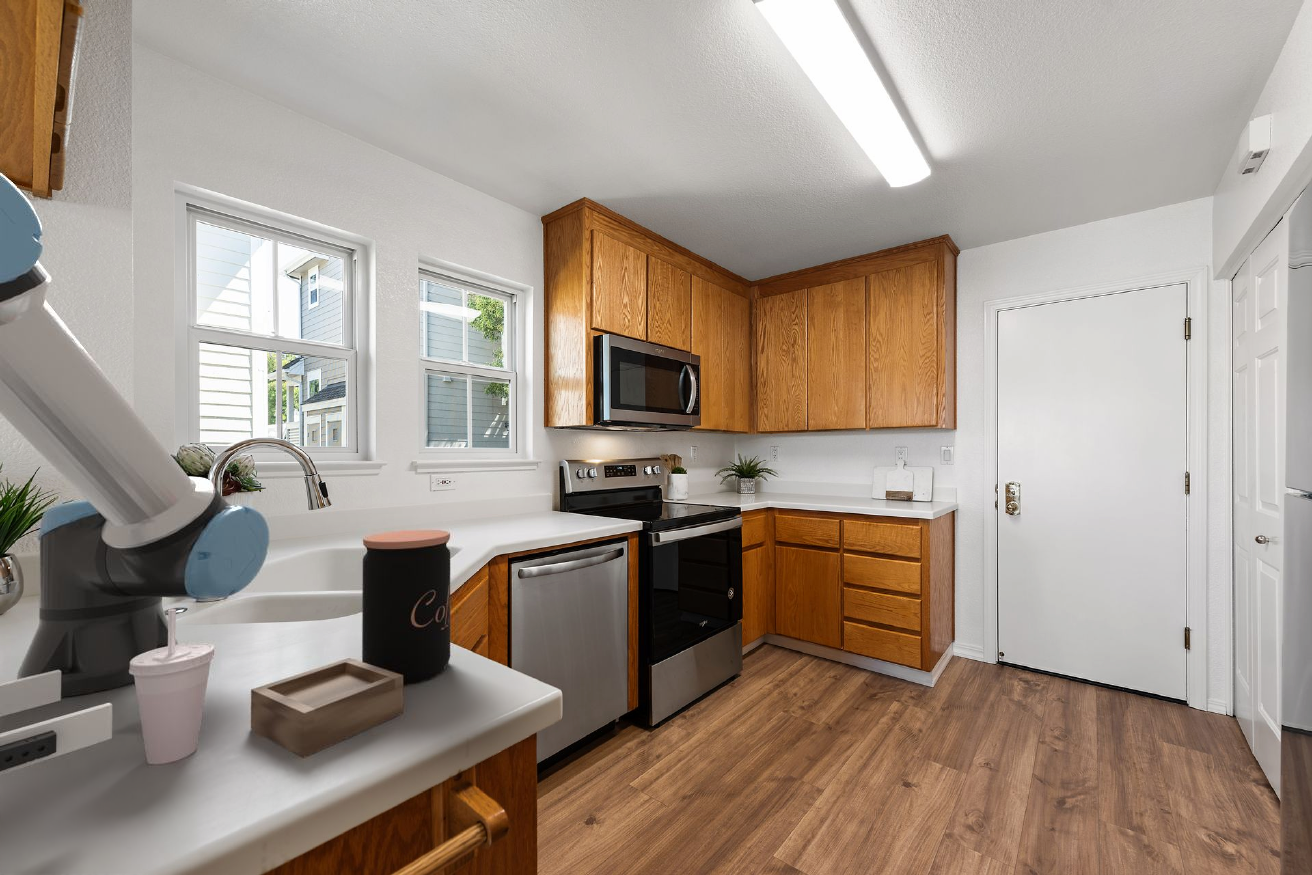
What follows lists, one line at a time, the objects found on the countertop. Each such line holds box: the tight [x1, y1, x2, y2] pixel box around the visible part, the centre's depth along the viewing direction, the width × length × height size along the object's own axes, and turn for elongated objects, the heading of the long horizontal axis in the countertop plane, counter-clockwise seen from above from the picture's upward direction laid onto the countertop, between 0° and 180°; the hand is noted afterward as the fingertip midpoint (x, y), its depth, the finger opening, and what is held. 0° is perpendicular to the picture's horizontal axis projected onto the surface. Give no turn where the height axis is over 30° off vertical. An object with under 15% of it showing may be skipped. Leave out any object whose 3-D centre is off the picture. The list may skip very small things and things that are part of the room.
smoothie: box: [129, 608, 216, 765], centre depth 55 cm, size 6×6×14 cm
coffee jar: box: [361, 529, 451, 686], centre depth 75 cm, size 11×11×18 cm
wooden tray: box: [250, 657, 404, 758], centre depth 61 cm, size 10×10×4 cm
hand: (84, 701), depth 50 cm, fingers open, 13 cm apart
